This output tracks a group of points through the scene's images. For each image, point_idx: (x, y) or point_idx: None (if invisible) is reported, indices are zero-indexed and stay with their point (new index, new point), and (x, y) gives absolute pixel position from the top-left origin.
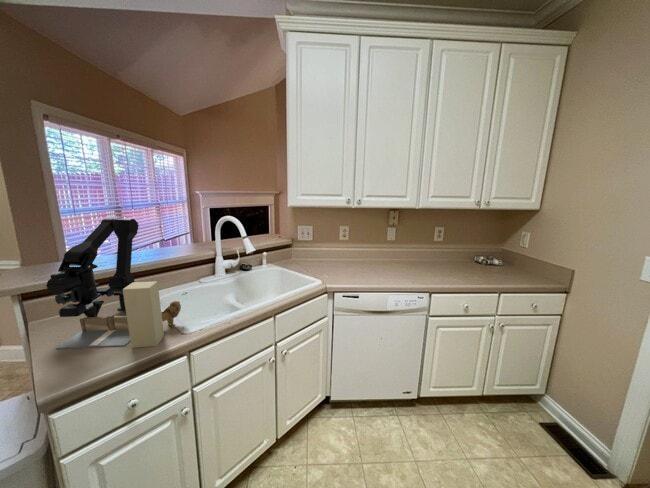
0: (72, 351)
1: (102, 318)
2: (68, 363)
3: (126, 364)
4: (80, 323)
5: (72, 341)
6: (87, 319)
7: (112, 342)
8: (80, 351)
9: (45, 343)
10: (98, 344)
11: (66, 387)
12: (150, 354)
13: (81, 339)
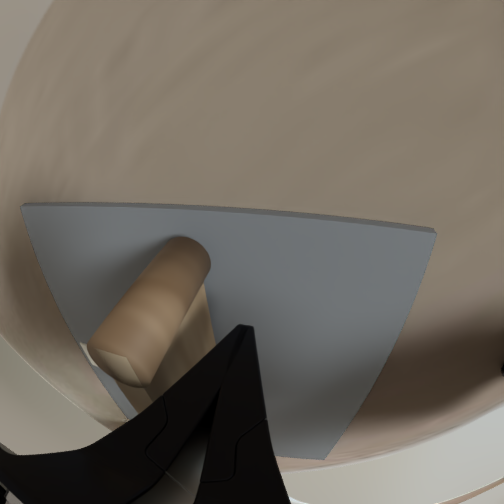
0: (42, 291)
1: None
2: (19, 312)
3: (82, 410)
4: (121, 298)
5: (70, 250)
6: (130, 391)
7: (124, 398)
8: (55, 319)
9: (47, 65)
10: (98, 367)
11: (6, 339)
12: None
13: (97, 289)
